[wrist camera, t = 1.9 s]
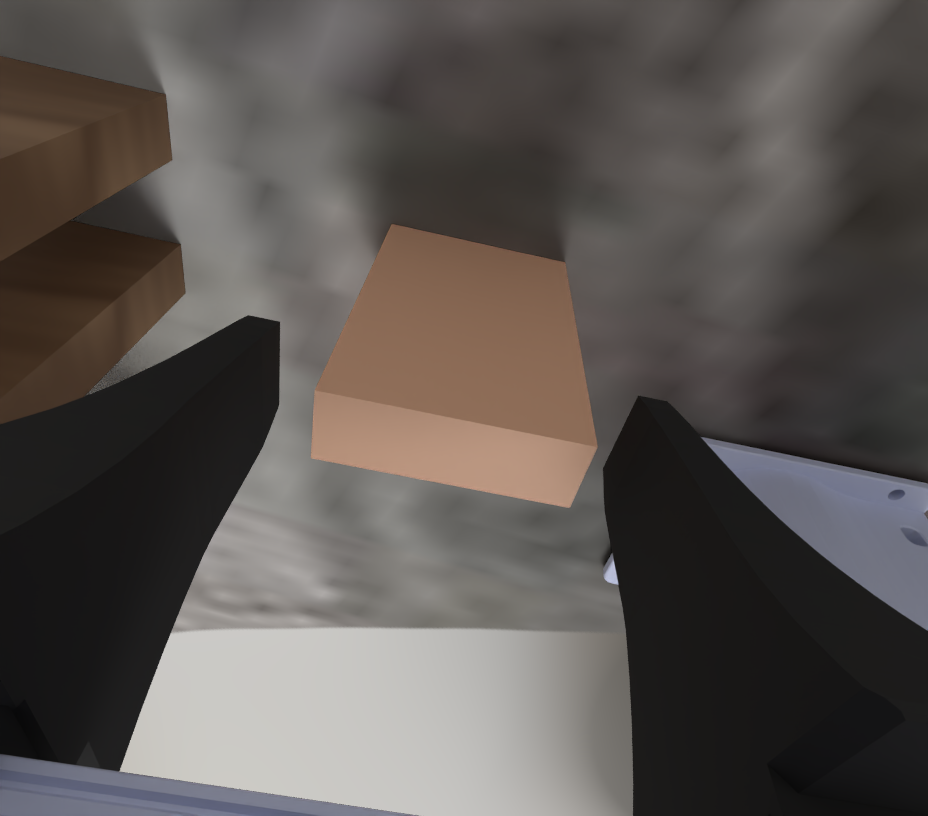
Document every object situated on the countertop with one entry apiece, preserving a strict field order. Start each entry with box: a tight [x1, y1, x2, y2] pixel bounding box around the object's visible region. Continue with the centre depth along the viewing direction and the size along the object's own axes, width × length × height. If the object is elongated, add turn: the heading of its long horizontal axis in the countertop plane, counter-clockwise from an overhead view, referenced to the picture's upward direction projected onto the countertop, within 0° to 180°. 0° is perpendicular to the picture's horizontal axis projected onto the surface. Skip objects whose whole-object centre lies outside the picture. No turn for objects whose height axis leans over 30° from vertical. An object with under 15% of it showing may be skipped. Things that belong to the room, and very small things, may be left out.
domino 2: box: [0, 221, 185, 424], centre depth 14 cm, size 2×5×8 cm, turn 78°
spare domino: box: [311, 224, 598, 508], centre depth 14 cm, size 2×5×8 cm, turn 79°
